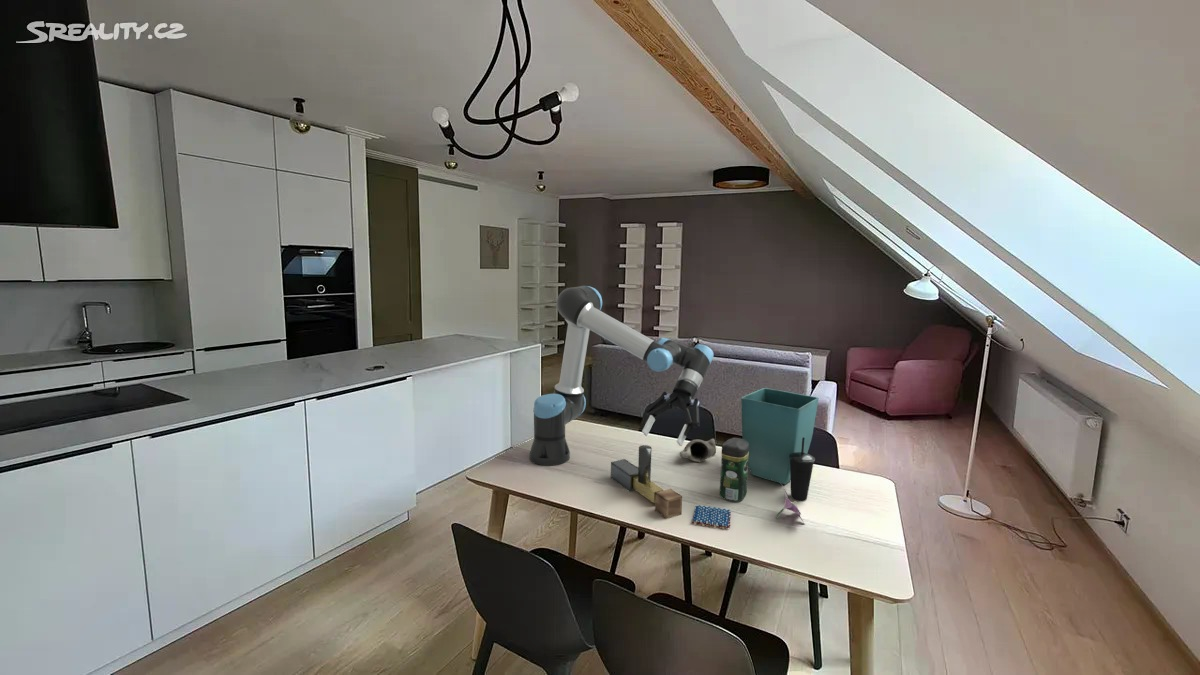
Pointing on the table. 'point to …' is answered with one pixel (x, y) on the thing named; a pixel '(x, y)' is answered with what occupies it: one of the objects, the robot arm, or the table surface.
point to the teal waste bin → (776, 430)
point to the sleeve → (623, 473)
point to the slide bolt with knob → (645, 475)
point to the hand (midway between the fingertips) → (661, 438)
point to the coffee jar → (734, 469)
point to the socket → (668, 503)
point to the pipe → (699, 450)
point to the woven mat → (711, 517)
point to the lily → (790, 506)
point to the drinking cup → (800, 473)
